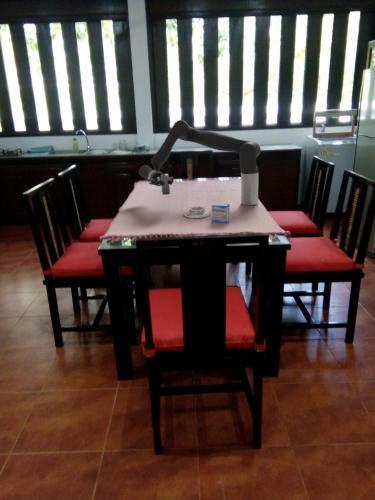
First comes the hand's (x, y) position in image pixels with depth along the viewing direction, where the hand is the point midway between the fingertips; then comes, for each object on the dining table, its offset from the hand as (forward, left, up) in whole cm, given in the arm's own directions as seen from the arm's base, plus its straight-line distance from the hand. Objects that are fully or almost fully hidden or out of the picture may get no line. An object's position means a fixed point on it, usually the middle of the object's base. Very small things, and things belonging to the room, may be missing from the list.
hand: (167, 183), depth 199 cm
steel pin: (-2, -1, -6) cm, 7 cm away
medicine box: (+12, +28, -17) cm, 35 cm away
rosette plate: (-1, +15, -17) cm, 22 cm away
